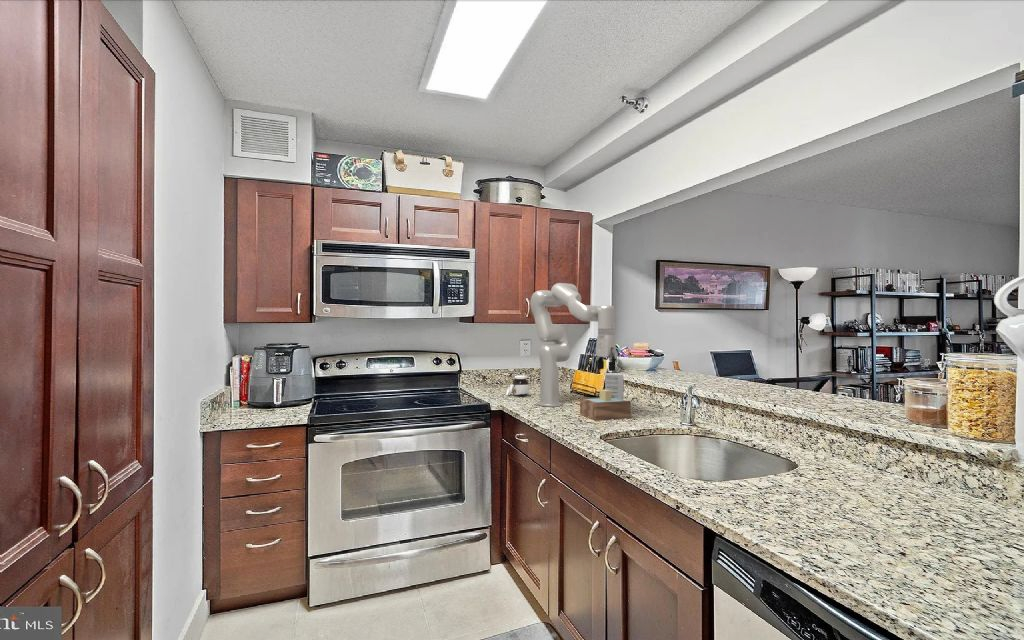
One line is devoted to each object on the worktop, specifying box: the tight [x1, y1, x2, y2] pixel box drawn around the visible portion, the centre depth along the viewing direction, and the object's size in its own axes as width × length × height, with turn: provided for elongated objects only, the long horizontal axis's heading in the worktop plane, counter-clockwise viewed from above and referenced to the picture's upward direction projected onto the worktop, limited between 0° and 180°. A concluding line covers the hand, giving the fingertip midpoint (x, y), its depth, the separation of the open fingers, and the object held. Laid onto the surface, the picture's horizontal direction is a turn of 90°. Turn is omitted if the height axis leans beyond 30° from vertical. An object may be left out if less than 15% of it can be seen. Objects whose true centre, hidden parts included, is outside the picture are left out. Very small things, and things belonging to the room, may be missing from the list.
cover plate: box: [587, 389, 625, 402], centre depth 218 cm, size 11×16×6 cm
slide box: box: [579, 396, 632, 422], centre depth 218 cm, size 14×18×8 cm
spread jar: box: [506, 374, 530, 398], centre depth 278 cm, size 12×11×12 cm
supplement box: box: [604, 372, 625, 400], centre depth 245 cm, size 10×9×17 cm
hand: (606, 369), depth 218 cm, fingers open, 9 cm apart
